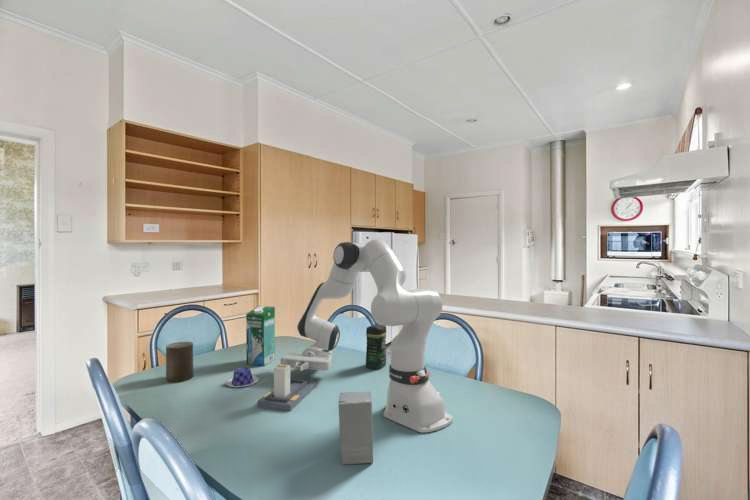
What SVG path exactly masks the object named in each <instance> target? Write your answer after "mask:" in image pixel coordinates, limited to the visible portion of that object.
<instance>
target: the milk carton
mask: <svg viewBox="0 0 750 500" xmlns="http://www.w3.org/2000/svg"><path fill="white" fill-rule="evenodd" d="M275 310H276V308H275V306H267V305H266V306H265V305H264V306H263V305H257V306H256V307H255V308H252V309H251V310H250V311H249V312H247V313H246V318H245V320H246V325H245V326H246V327H245V328H246V329H245V330H246V333H245V334H246V335H245V336H246V337H245V338H246V339H245V340H246V345H245V346H246V365H251V366H260V367H265V366H266V365H268V364H270V363H272V362H274V361H275V360H276V346H275V345H276V338H275V337H276V336H275V335H276V331H275V330H276V326H275V325H276V324H275V323H276V321H275V320H276V319H275V318H276V314H275V313H276V311H275Z"/></svg>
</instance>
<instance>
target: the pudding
mask: <svg viewBox="0 0 750 500" xmlns="http://www.w3.org/2000/svg"><path fill="white" fill-rule="evenodd" d="M259 380H260V379H259V377H257V376H256V375H253V374H252V371H251V368H249V367H239V368H237V369H235V370H234V372H233V377H232V378H229V379H228V380H227V381H226V382H225V385H227V386H229V387H231V388H232V387H233V388H243V387H248V386H252V385H254V384H256V383H257V382H259Z"/></svg>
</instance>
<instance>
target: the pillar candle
mask: <svg viewBox="0 0 750 500" xmlns="http://www.w3.org/2000/svg"><path fill="white" fill-rule="evenodd" d="M165 349H166V350H165V357H166V358H165V379H166V380H165V381H167V382H168V383H182V382H185V381H189V380H191V379H193V377H194V342H192V341H178V342H172V343H169V344H166V346H165Z"/></svg>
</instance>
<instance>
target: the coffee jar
mask: <svg viewBox="0 0 750 500" xmlns="http://www.w3.org/2000/svg"><path fill="white" fill-rule="evenodd" d="M365 332H366V333H365V337H366V350H365V351H366V353H365V354H366V355H365V367H367V368H368V369H371V370H375V369H376V370H377V369H378V370H379V369H381V368H384V367H385V366H386V364H387V354H386V352H387V348H386V347H387V345H386V343H387V340H386V339H387V326H385V325H379V324H377V323H376V322H375V323H374V324H373V325H372V324H371V325H370V326H369V325H368V326H367V327H366V331H365Z"/></svg>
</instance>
